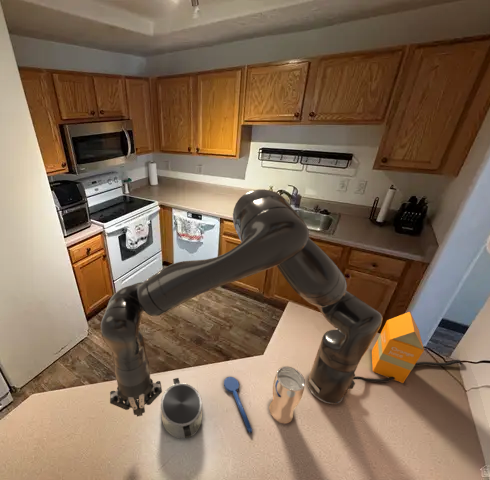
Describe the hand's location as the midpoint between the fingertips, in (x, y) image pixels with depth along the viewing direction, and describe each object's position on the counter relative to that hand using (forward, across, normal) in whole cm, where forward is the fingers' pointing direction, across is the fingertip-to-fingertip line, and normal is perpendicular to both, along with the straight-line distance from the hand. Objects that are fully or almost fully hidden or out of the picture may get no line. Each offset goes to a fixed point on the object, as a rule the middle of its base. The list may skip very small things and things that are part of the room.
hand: (139, 412), depth 66 cm
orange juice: (+6, +78, 0) cm, 78 cm away
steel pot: (+6, +11, 0) cm, 13 cm away
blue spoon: (+6, +28, 0) cm, 28 cm away
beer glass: (+6, +38, -5) cm, 39 cm away
